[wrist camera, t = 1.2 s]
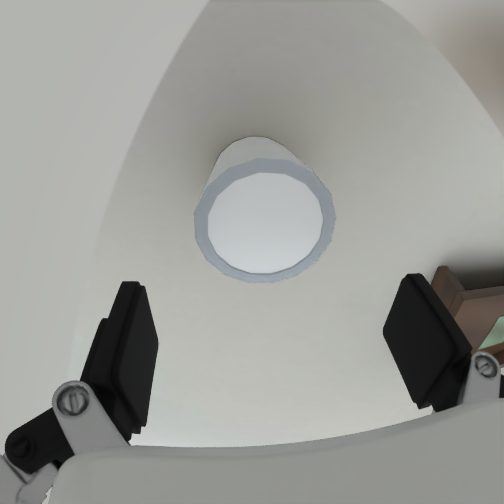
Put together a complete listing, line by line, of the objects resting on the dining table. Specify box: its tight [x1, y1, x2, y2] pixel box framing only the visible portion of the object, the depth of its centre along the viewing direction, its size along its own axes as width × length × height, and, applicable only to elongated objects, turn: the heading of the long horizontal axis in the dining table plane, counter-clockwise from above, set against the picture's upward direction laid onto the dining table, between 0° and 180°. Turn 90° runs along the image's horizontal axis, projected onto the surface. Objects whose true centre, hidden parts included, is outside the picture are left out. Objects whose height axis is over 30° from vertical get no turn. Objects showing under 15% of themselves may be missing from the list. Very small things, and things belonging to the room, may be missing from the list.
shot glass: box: [194, 137, 336, 283], centre depth 18 cm, size 7×7×7 cm
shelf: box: [431, 266, 504, 368], centre depth 27 cm, size 12×18×7 cm, turn 88°
